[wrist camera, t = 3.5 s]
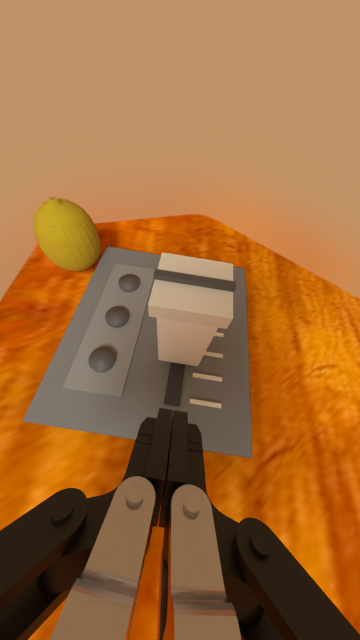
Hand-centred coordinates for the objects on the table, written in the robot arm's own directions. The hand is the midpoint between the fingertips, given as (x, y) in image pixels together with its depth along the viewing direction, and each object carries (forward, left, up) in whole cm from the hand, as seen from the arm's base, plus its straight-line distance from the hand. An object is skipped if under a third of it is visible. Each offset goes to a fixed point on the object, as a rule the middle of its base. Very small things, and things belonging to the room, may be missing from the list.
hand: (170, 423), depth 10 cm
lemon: (+13, -15, -7) cm, 21 cm away
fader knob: (0, -6, -4) cm, 7 cm away
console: (+2, -8, -6) cm, 10 cm away
